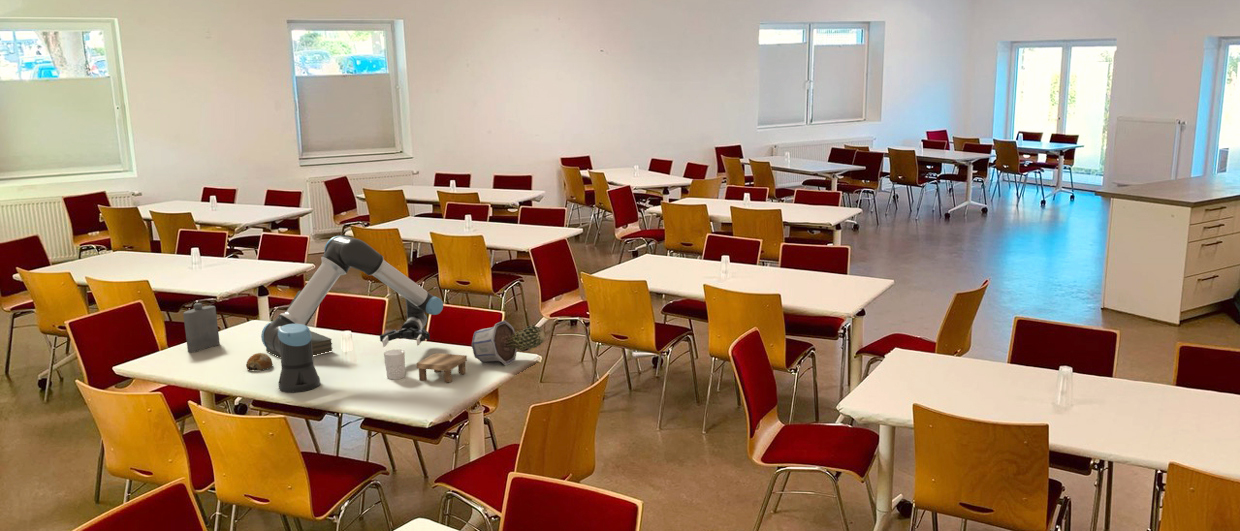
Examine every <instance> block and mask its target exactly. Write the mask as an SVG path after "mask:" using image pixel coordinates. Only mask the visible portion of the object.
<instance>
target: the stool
mask: <svg viewBox="0 0 1240 531" xmlns="http://www.w3.org/2000/svg"><path fill="white" fill-rule="evenodd" d="M466 362H467V355H461V354H449V353H440V352H439V353H437V352H435V353H433V354H431V355H429V356H427V357H425V358H423V359H421V360H420V361H418V362H416V369H418V375H419V376H418V378H419V381H422V382H425V381H427V379H428V377H427V375H428V374H427V370H432V371H433V372H434V373H439V372H440V373H441V372H442V371H443V378H444V383H445V382H447V383H446V384H449V383H448V382H450V383H452V382H453V378H452V370H453V369H455V368H457V367H458V375H465V374H466V373H467V371H466ZM464 373H465V374H464ZM424 380H425V381H424ZM451 381H452V382H451Z"/></svg>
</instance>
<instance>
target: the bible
mask: <svg viewBox="0 0 1240 531" xmlns="http://www.w3.org/2000/svg"><path fill="white" fill-rule="evenodd" d="M301 291H302V290H298V291H297V292H296V295H295V296H294V298H293V299H292V300H291V302H290V304H289V305H288V307H287V309H286V310H285V312H287V310H288V309H289V307H290V306H291V305H292V303H293V302H294V301H295V299H296V298H297V297H298V295H299V294H300V293H301ZM322 302H323V300H322V301H321V303H322ZM321 303H320V304H319V305H318V307H317V308H316V309H315V311H314V312H313V314H312V315H311V316H310V318H309V319H308V320H307V322H306V323H305V325H306V326H307V327H308V324H309V323H310V321H311V319H312V317H313V316H314V314H315V313H316V311H317V310H318V309H319V307H320V305H321ZM310 333H311V337H312V338H311V340H312V352H313V355H317V354H321V353H325V352H329V351H332V352H333V342H332V338H330V337H328V336H325V335H322V334H319V333H317V332H314V331H312V330H310ZM265 351H268V352H270V353H272V354H274V355H273V356H275V355H276V356H275V357H277V356H278V357H277V358H279V357H280V355H279V354H277V353H275V352H272V351H270V350H269V349H268V348H266V347H265ZM268 352H267V353H268ZM270 353H269V354H270ZM272 354H271V355H272Z"/></svg>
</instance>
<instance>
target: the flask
mask: <svg viewBox="0 0 1240 531" xmlns="http://www.w3.org/2000/svg"><path fill="white" fill-rule="evenodd" d="M182 316H183V323H184V331H185V339H186V346H187V348H186V349H187V352H189V353H197V352H199V350H200V351H201V350H205V349H207V348H208V349H209V348H212V346H213V347H216V346H219V345H220V335H219V326H218V325H219V324H218V316H217V308H216V306H215V305H206V306H205V305H204V306H203V303H201V302H197V303H196V302H195V303H194V304H193V308H192V309H188V310H186V311H184V312H183V314H182Z"/></svg>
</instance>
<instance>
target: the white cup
mask: <svg viewBox="0 0 1240 531" xmlns="http://www.w3.org/2000/svg"><path fill="white" fill-rule="evenodd" d="M405 353H406V352H405V350H404V349H403V350H402V349H390V350H386V351H385V352H383V357H384V359H383V360H384V365H385V371H386V378H387V379H388V380H400V379H402V378H405V372H406V371H405V370H406V358H405V356H406V355H405Z"/></svg>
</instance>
